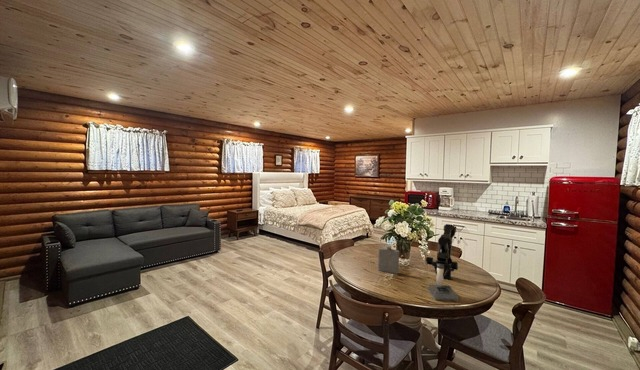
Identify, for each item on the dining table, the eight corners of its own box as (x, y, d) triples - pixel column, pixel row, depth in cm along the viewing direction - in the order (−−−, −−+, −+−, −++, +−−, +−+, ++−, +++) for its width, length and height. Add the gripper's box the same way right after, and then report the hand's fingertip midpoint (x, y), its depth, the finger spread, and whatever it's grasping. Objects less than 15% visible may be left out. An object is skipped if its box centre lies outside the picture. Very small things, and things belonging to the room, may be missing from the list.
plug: (434, 283, 171) (435, 263, 170) (439, 282, 173) (440, 263, 172) (439, 286, 168) (440, 266, 167) (444, 285, 169) (445, 265, 168)
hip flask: (377, 270, 210) (378, 245, 209) (378, 268, 214) (379, 244, 212) (398, 274, 203) (399, 248, 202) (398, 272, 207) (399, 247, 206)
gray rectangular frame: (428, 290, 177) (429, 284, 177) (449, 291, 176) (449, 285, 175) (435, 299, 164) (435, 293, 164) (457, 301, 163) (457, 294, 162)
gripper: (427, 244, 177) (422, 265, 169) (458, 249, 167) (455, 272, 158) (428, 253, 184) (424, 273, 176) (459, 258, 174) (456, 280, 166)
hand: (439, 275), depth 169 cm, fingers closed on plug, 4 cm apart
